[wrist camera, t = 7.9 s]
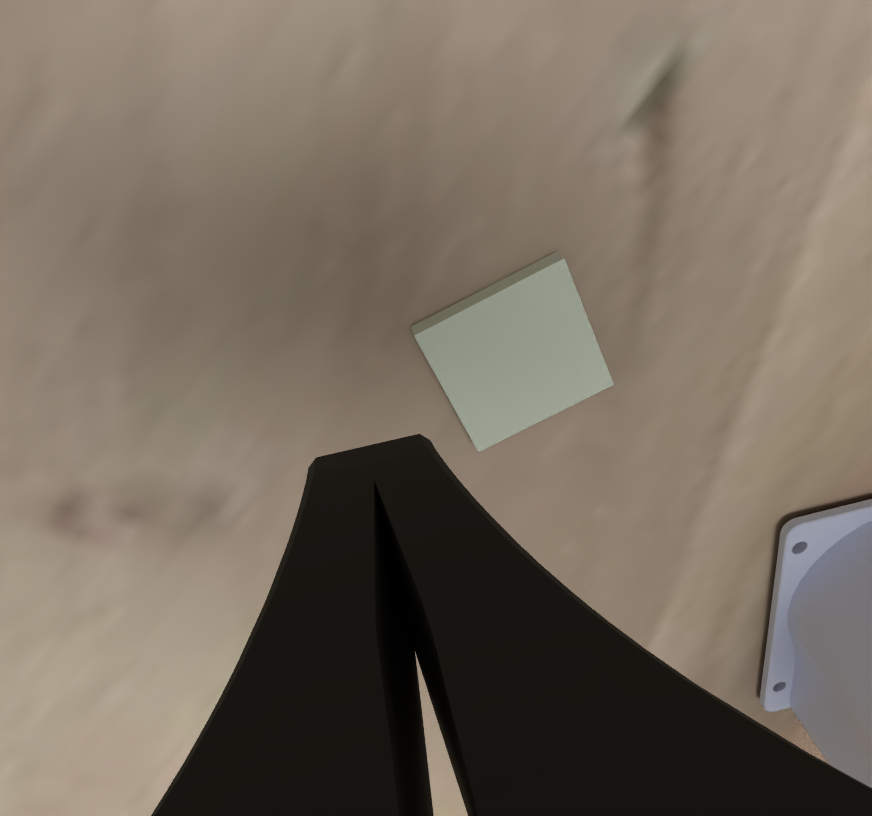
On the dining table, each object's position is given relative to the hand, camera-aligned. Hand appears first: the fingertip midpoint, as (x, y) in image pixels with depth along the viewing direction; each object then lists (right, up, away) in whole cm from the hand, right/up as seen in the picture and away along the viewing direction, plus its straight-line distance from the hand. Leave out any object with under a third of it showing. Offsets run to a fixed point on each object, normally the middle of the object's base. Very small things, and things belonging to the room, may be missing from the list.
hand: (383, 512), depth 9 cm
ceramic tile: (+2, +3, +11) cm, 12 cm away
